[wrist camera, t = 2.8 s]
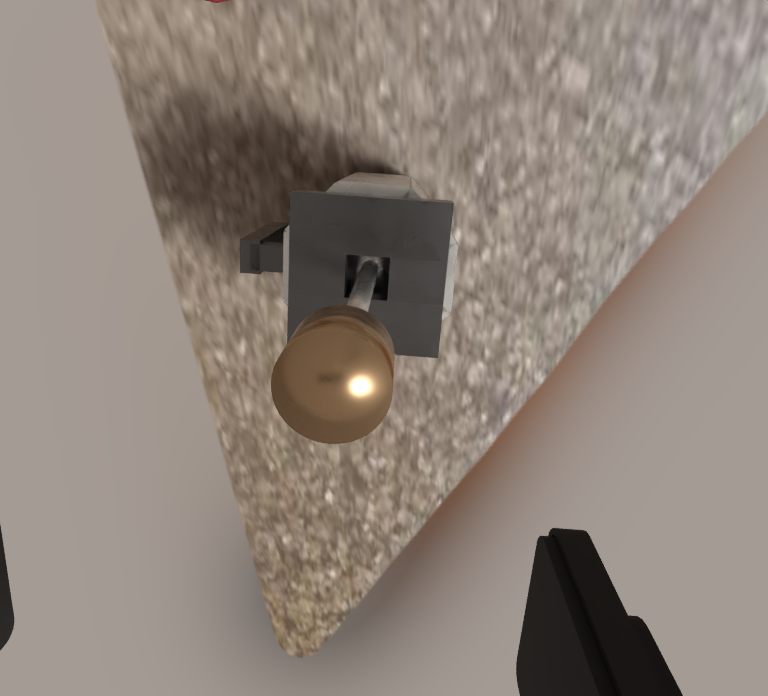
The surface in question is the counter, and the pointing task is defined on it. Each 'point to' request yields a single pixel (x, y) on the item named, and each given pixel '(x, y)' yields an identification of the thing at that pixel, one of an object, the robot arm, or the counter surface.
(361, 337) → the plunger
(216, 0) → the onion
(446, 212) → the french press
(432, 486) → the counter surface
